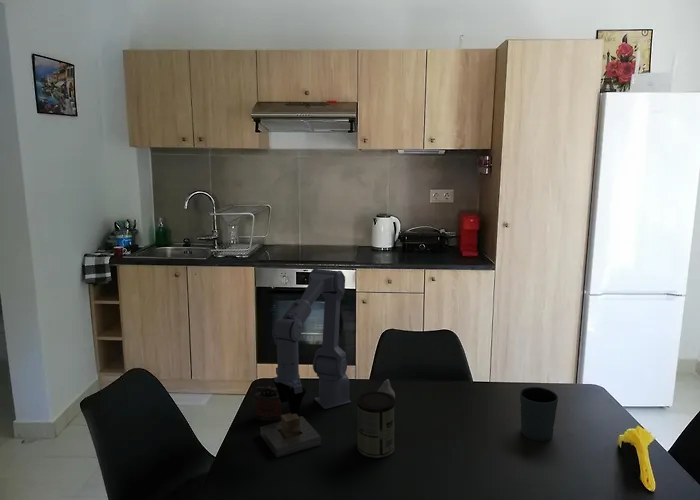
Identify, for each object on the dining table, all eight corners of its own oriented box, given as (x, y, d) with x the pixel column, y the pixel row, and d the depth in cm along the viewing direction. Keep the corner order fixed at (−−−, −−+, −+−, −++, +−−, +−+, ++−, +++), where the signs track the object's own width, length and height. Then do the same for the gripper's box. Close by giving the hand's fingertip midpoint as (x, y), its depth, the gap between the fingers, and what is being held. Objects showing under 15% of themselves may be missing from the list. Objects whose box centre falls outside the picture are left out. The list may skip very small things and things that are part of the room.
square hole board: (302, 423, 156) (302, 416, 156) (321, 444, 145) (320, 436, 144) (260, 435, 150) (260, 426, 149) (276, 457, 139) (276, 449, 138)
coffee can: (363, 435, 150) (363, 388, 147) (398, 441, 146) (399, 394, 144) (351, 454, 140) (351, 405, 138) (389, 461, 137) (389, 411, 134)
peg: (294, 434, 150) (294, 411, 149) (300, 441, 147) (299, 418, 145) (281, 438, 148) (281, 415, 147) (286, 445, 145) (286, 421, 144)
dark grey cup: (556, 428, 152) (559, 390, 150) (554, 446, 143) (556, 405, 141) (520, 421, 156) (522, 384, 154) (515, 438, 147) (517, 398, 145)
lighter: (282, 415, 161) (281, 385, 159) (280, 421, 158) (279, 390, 156) (257, 414, 162) (255, 384, 160) (254, 419, 159) (252, 389, 157)
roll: (380, 373, 163) (397, 376, 160) (380, 409, 165) (397, 412, 163) (373, 380, 157) (391, 383, 155) (373, 418, 159) (391, 421, 157)
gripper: (265, 355, 148) (266, 399, 150) (283, 373, 135) (285, 422, 137) (288, 350, 151) (289, 394, 153) (309, 368, 138) (310, 415, 141)
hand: (289, 407), depth 146 cm, fingers open, 7 cm apart
